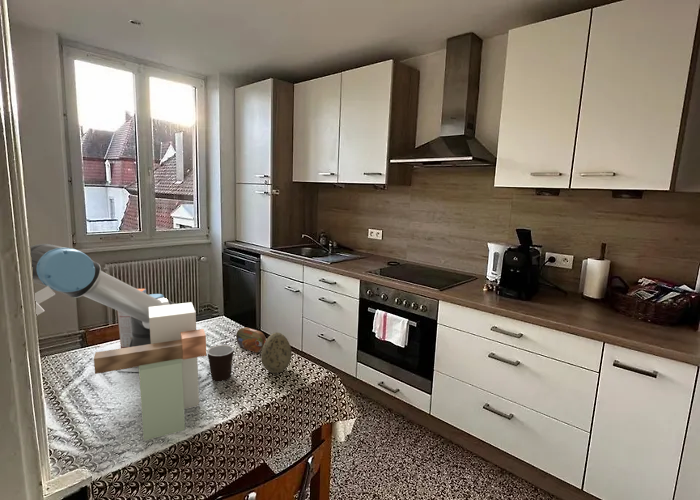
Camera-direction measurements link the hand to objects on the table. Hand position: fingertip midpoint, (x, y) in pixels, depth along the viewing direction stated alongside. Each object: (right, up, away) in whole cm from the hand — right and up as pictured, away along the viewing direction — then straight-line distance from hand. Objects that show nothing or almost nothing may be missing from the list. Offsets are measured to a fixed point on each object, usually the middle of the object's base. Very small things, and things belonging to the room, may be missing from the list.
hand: (46, 297), depth 92 cm
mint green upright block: (+22, -38, +14) cm, 46 cm away
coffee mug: (+29, -33, +43) cm, 61 cm away
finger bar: (+21, -18, +10) cm, 29 cm away
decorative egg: (+47, -33, +46) cm, 74 cm away
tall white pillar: (+20, -36, +26) cm, 48 cm away
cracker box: (-17, -27, +67) cm, 74 cm away
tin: (+33, -29, +64) cm, 78 cm away
